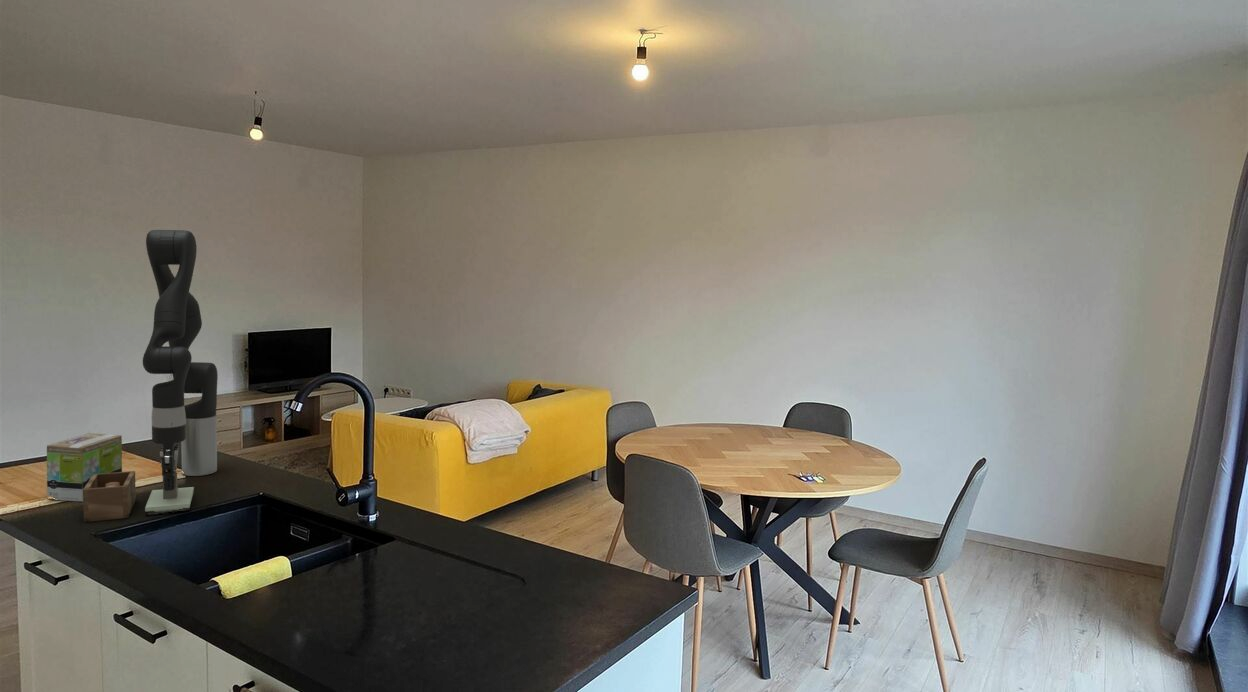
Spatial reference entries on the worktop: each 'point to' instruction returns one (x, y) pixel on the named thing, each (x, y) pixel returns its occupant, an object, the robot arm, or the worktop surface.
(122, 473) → the crate
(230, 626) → the worktop surface
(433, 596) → the worktop surface
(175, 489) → the lid
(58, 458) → the tea box
